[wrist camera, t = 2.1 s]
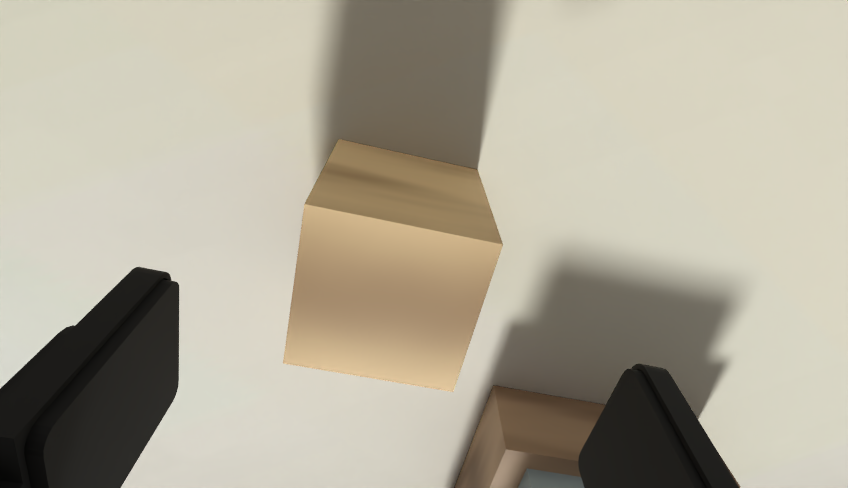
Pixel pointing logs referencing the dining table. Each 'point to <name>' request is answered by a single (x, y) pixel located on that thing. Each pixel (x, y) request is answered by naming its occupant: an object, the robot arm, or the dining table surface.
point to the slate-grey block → (549, 480)
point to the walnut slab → (527, 438)
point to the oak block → (391, 267)
